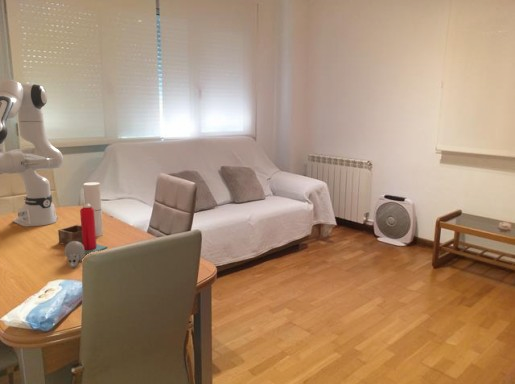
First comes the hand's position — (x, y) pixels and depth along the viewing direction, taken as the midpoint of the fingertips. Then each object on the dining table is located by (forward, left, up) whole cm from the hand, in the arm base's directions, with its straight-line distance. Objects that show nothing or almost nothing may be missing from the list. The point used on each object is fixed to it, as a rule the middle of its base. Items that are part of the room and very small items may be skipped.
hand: (53, 159), depth 175 cm
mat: (+18, +1, -38) cm, 42 cm away
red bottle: (+18, +1, -38) cm, 42 cm away
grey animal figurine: (+26, -13, -38) cm, 48 cm away
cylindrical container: (+4, +16, -38) cm, 42 cm away
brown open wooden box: (+5, +5, -38) cm, 39 cm away
